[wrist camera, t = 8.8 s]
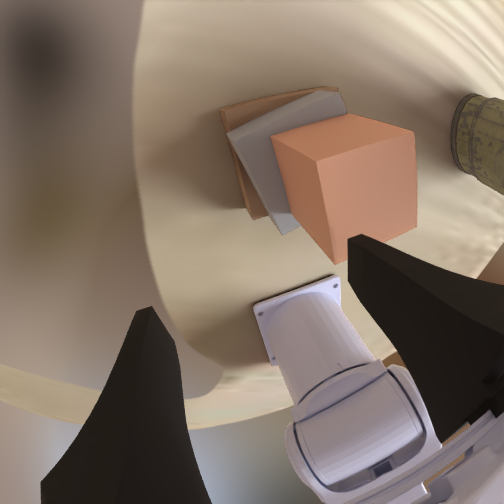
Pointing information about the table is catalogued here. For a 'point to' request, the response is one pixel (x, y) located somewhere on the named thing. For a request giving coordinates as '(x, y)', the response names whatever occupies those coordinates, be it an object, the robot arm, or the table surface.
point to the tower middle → (263, 155)
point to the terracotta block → (349, 180)
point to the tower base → (244, 114)
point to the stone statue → (480, 139)
